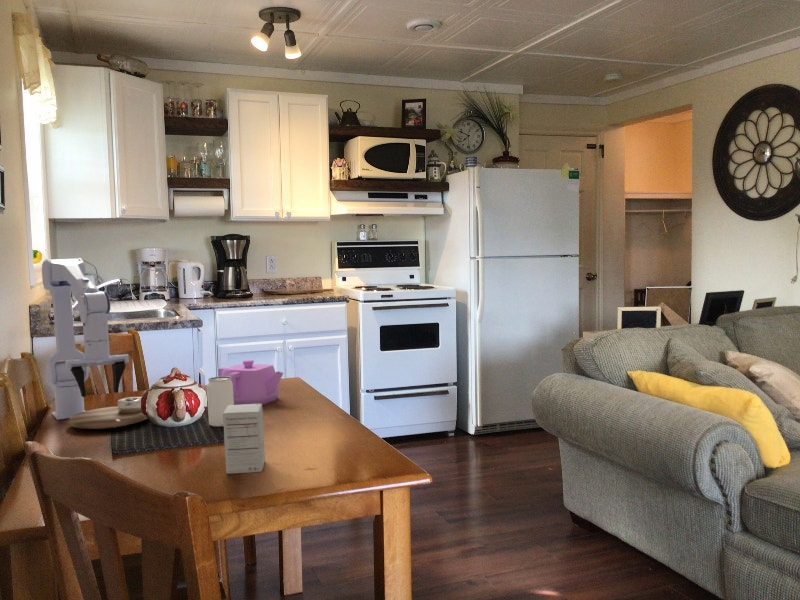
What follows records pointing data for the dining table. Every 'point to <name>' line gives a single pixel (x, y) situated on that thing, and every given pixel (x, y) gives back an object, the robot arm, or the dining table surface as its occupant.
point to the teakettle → (253, 382)
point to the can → (219, 399)
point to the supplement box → (244, 438)
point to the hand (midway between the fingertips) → (99, 394)
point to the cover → (129, 405)
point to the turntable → (104, 418)
